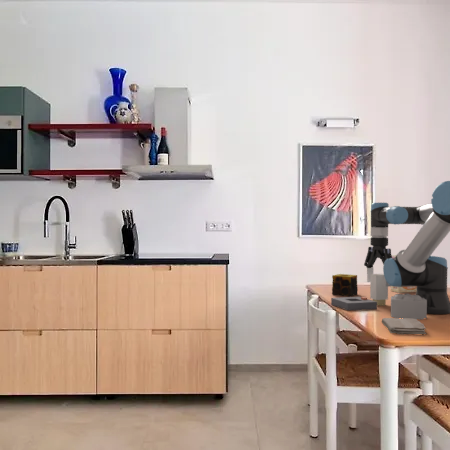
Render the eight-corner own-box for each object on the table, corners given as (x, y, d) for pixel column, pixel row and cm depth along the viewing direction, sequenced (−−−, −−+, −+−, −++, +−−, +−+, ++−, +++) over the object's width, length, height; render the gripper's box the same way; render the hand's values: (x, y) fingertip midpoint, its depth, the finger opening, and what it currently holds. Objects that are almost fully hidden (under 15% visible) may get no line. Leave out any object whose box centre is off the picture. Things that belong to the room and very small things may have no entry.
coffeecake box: (398, 292, 238) (398, 256, 238) (390, 290, 245) (390, 255, 245) (422, 291, 242) (422, 255, 242) (413, 290, 249) (413, 254, 249)
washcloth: (391, 335, 149) (391, 326, 148) (380, 323, 166) (380, 315, 166) (429, 337, 147) (429, 327, 147) (414, 324, 165) (414, 316, 165)
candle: (350, 296, 225) (350, 276, 225) (331, 294, 231) (331, 275, 231) (358, 294, 233) (358, 275, 233) (339, 292, 239) (339, 273, 239)
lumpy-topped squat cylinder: (390, 313, 184) (390, 291, 184) (425, 315, 180) (425, 293, 180) (391, 318, 174) (391, 295, 174) (428, 320, 170) (428, 297, 170)
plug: (387, 303, 207) (387, 273, 207) (393, 305, 202) (393, 274, 202) (370, 304, 204) (370, 274, 204) (376, 305, 200) (376, 275, 200)
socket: (376, 308, 192) (376, 300, 192) (347, 310, 189) (347, 301, 189) (359, 303, 206) (359, 294, 206) (331, 304, 202) (331, 296, 202)
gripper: (404, 238, 192) (403, 287, 192) (371, 235, 216) (370, 280, 216) (388, 238, 190) (388, 288, 190) (357, 235, 214) (356, 280, 214)
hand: (378, 284), depth 203 cm, fingers open, 13 cm apart
